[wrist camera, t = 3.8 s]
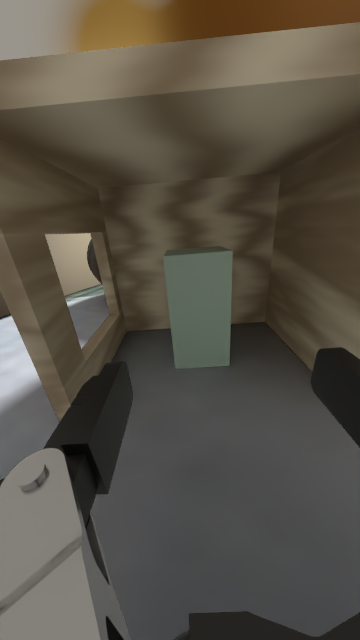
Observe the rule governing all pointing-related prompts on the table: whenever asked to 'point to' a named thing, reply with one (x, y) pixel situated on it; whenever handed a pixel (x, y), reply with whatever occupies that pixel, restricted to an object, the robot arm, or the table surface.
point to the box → (184, 187)
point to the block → (199, 305)
